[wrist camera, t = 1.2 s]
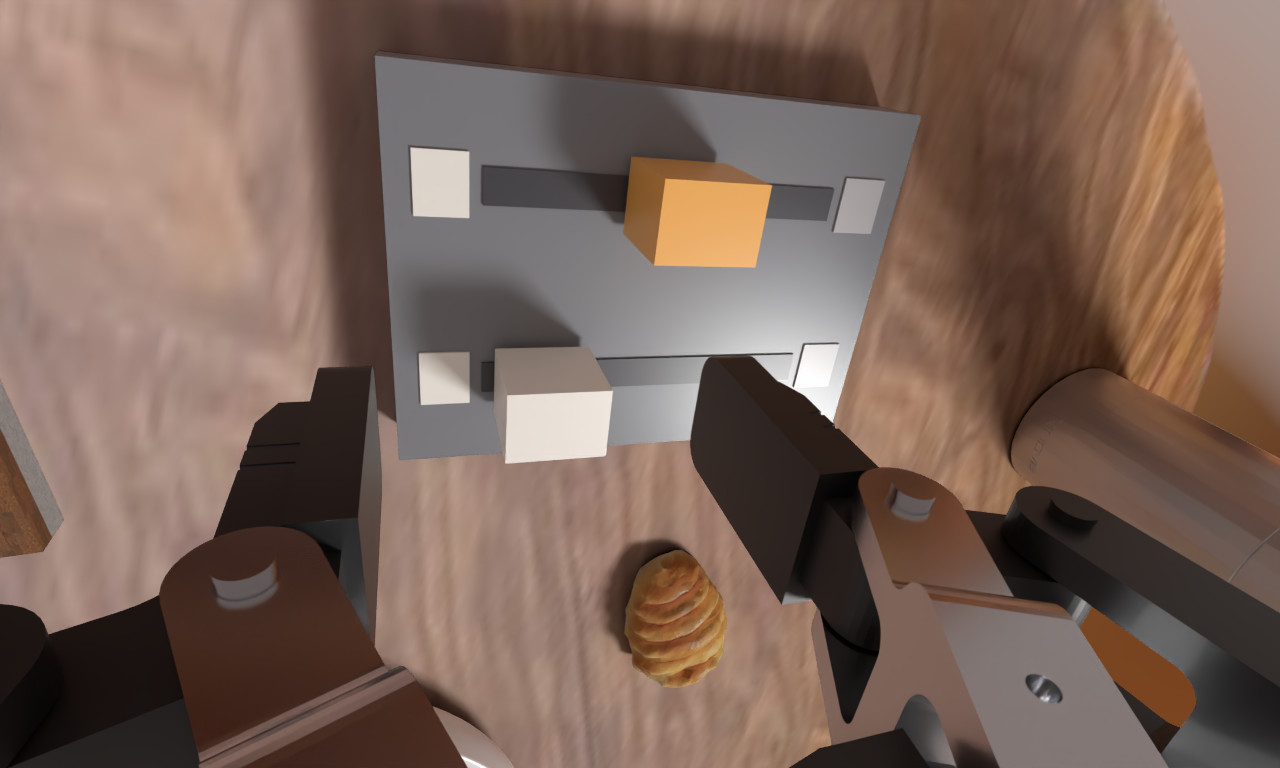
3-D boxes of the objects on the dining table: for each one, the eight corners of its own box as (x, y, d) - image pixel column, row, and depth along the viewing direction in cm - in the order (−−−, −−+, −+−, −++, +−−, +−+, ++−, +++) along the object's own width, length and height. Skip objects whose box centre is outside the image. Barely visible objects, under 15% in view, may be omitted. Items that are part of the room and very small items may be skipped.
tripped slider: (726, 163, 27) (772, 185, 23) (713, 236, 28) (755, 267, 25) (631, 156, 25) (665, 178, 22) (623, 233, 27) (653, 265, 23)
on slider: (588, 346, 29) (613, 390, 25) (583, 406, 30) (605, 456, 27) (494, 348, 27) (507, 395, 24) (493, 411, 29) (505, 463, 26)
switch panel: (880, 106, 31) (923, 115, 29) (802, 402, 38) (831, 431, 36) (377, 50, 24) (374, 55, 22) (399, 424, 32) (398, 461, 29)
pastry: (604, 565, 40) (622, 612, 37) (707, 528, 41) (732, 571, 38) (630, 660, 45) (647, 709, 42) (720, 624, 46) (744, 669, 43)
